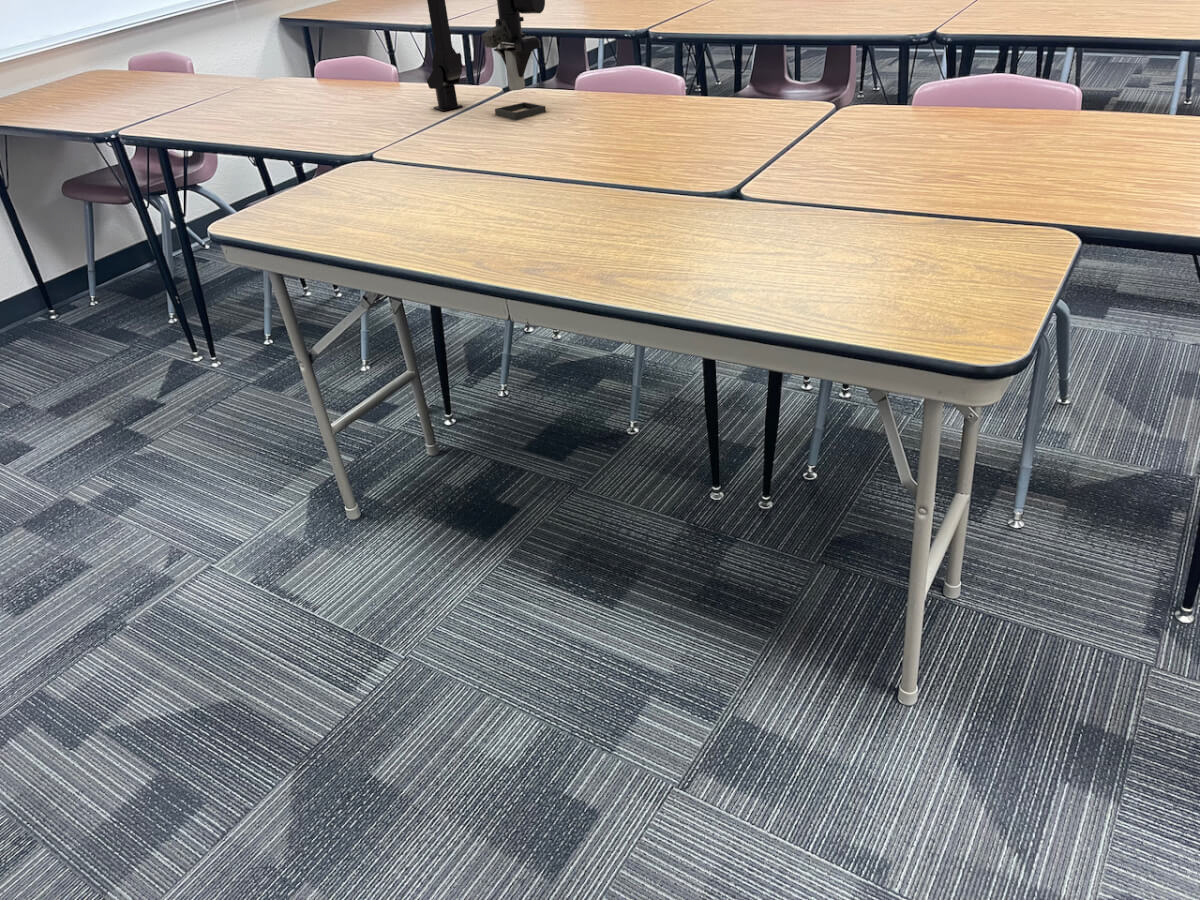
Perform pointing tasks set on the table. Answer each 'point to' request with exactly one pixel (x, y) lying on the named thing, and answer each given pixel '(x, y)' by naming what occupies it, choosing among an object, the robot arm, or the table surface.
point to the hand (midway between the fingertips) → (516, 76)
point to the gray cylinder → (513, 71)
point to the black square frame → (508, 113)
